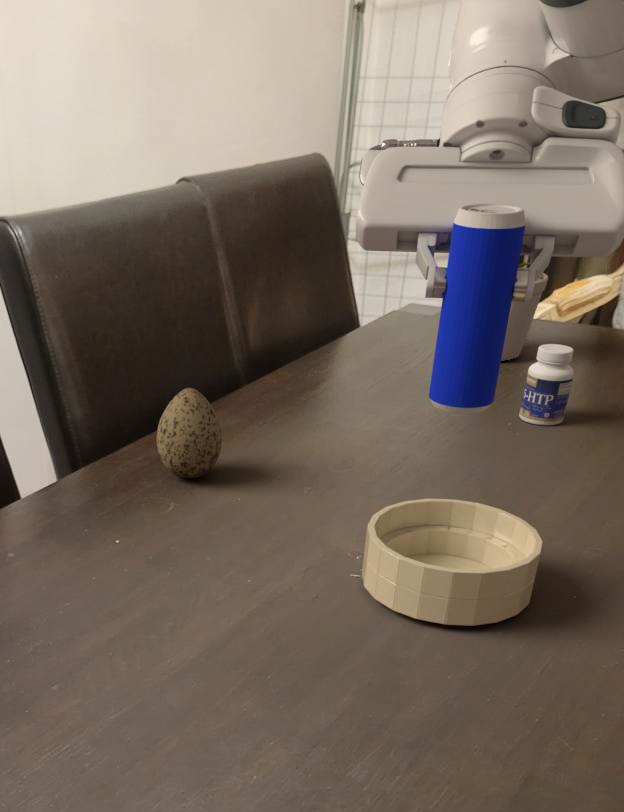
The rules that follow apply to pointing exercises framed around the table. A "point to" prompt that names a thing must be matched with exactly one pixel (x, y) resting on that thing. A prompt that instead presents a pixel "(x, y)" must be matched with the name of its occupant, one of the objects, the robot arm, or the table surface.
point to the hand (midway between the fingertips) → (478, 295)
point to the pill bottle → (547, 386)
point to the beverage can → (476, 306)
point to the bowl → (450, 561)
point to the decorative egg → (189, 435)
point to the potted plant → (521, 319)
